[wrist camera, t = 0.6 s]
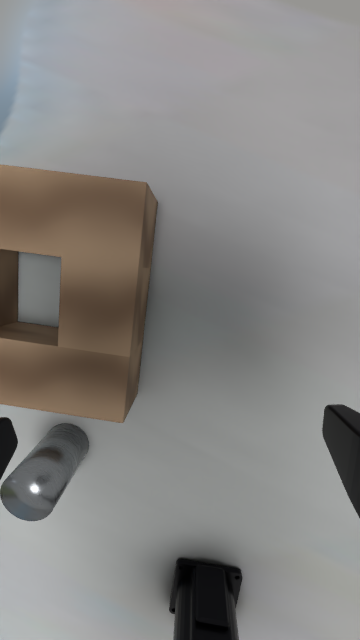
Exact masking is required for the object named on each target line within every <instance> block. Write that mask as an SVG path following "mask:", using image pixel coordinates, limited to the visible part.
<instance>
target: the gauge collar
mask: <svg viewBox="0 0 360 640" xmlns="http://www.w3.org/2000/svg"><path fill="white" fill-rule="evenodd" d="M157 205H158V202H157V200H156V198H155V196H154V195H153V193H152V191H151V189H150V187H149V186H148V184H147V182H138V181H130V180H122V179H114V178H106V177H98V176H89V175H81V174H73V173H65V172H57V171H48V170H40V169H32V168H24V167H16V166H8V165H0V404H4V405H10V406H17V407H23V408H29V409H36V410H42V411H48V412H55V413H61V414H68V415H74V416H80V417H87V418H93V419H99V420H106V421H112V422H119V423H123V422H124V420H125V418H126V416H127V414H128V412H129V410H130V408H131V406H132V404H133V402H134V400H135V397H136V395H137V391H138V382H139V373H140V363H141V354H142V345H143V335H144V326H145V317H146V307H147V298H148V289H149V279H150V270H151V261H152V251H153V242H154V233H155V223H156V214H157ZM18 251H20V252H27V253H35V254H42V255H50V256H57V257H61V282H60V306H59V328H58V327H51V326H45V325H38V324H31V323H24V322H18Z"/></svg>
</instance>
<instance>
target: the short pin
mask: <svg viewBox="0 0 360 640" xmlns="http://www.w3.org/2000/svg"><path fill="white" fill-rule="evenodd" d="M88 449H89V441H88V438H87V436H86V434H85V433H84V431H83V430H81V429H80V428H79V427H77V426H75V425H73V424H67V423H64V424H59V425H57V426H55V427H53V428H52V429H51V430H50V432H49V433H48V434H47V435H46V436H45V437H44V438H43V439H42V440H41V441H40V442H39V444H38V445H37V446H36V447H35V448H34V449H33V450H32V451H31V452H30V453H29V454H28V456H27V457H26V458H25V459H24V460H23V461H22V462H21V463H20V464H19V465H18V467H17V468H16V469H15V470H14V471H13V472H12V473H11V474H10V475H9V476H8V477H7V479H6V480H5V481H4V482H3V484H2V486H1V490H0V496H1V500H2V503H3V505H4V506H5V508H6V509H7V510H8V511H9V512H10V513H11V514H13V515H14V516H16V517H17V518H20V519H22V520H26V521H38V520H41V519H44V518H46V517H47V516H48V515H49V514H50V513H51V512H52V510H53V508H54V507H55V505H56V504H57V502H58V500H59V499H60V497H61V495H62V494H63V492H64V490H65V489H66V487H67V485H68V484H69V482H70V480H71V479H72V477H73V475H74V474H75V472H76V470H77V469H78V467H79V465H80V464H81V462H82V460H83V459H84V457H85V455H86V454H87V452H88Z"/></svg>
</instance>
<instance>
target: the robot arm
mask: <svg viewBox="0 0 360 640" xmlns="http://www.w3.org/2000/svg"><path fill="white" fill-rule="evenodd" d="M322 432H323V437H324V440H325V442H326V445H327V447H328V450H329V452H330V454H331V457H332V459H333V461H334V464H335V466H336V468H337V471H338V473H339V476H340V478H341V480H342V483H343V485H344V487H345V490H346V492H347V494H348V496H349V498H350V500H351V502H352V504H353V506H354V508H355V510H356V512H357V514H358V516H359V518H360V413H358V412H356V411H354V410H352V409H351V408H349V407H347V406H345V405H342V404H337V405H327V406H326V407H325V410H324V419H323V428H322ZM17 444H18V439H17V436H16V433H15V430H14V428H13V425H12V422H11V420H10V419H9V418H7V417H1V418H0V480H1V478H2V476H3V474H4V472H5V470H6V468H7V466H8V464H9V462H10V460H11V458H12V456H13V454H14V452H15V450H16V448H17ZM241 582H242V572H241V571H240V570H239V569H235V568H229V567H224V566H218V565H212V564H207V563H201V562H195V561H189V560H184V559H179V560H178V561H177V562H176V568H175V575H174V581H173V587H172V593H171V599H170V607H169V611H170V612H171V613H172V614H175V623H174V639H173V640H239V637H238V628H237V619H236V610H235V608H236V604H237V600H238V595H239V591H240V586H241Z"/></svg>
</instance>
